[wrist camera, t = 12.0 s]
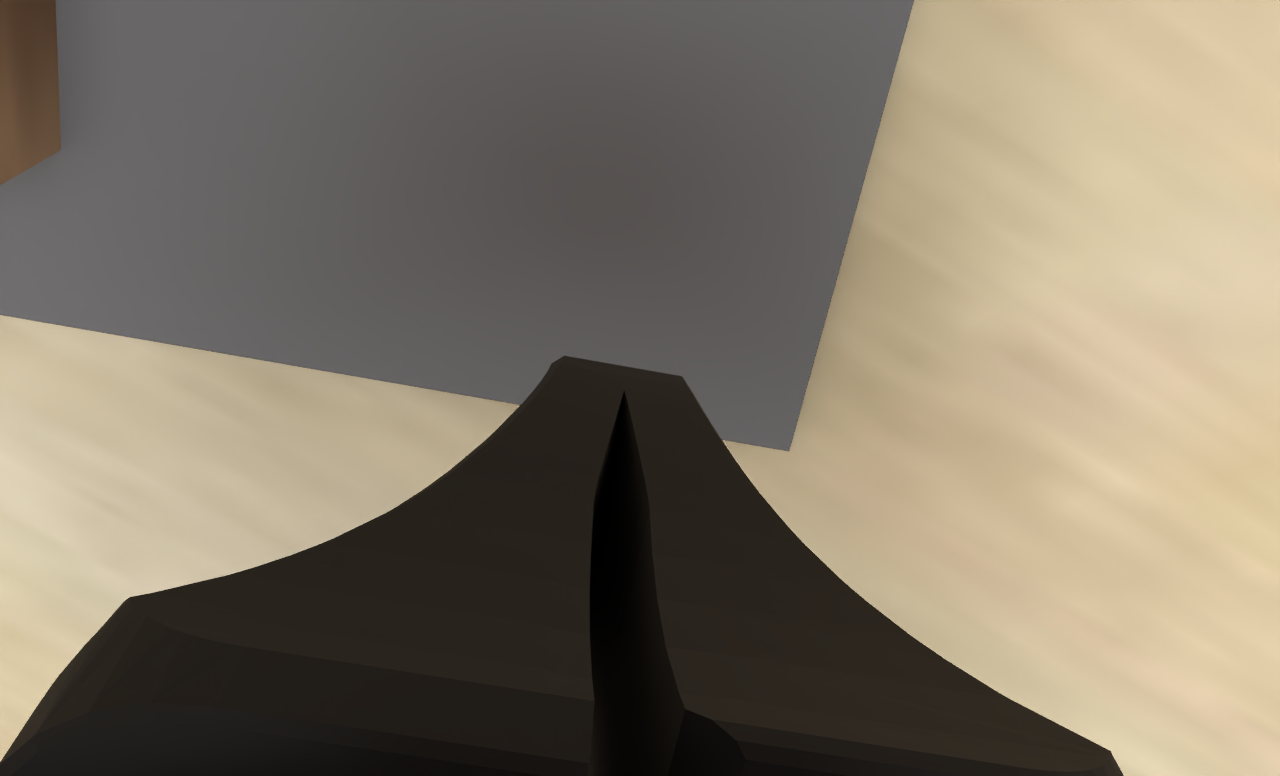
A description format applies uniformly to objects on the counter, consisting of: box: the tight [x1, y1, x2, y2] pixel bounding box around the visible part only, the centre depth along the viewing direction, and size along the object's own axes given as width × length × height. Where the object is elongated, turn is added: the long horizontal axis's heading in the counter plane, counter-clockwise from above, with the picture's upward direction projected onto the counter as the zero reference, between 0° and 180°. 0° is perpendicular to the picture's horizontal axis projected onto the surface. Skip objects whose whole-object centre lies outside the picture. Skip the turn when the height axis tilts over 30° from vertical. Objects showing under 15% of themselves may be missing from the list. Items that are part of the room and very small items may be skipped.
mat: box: [0, 0, 914, 451], centre depth 20 cm, size 13×23×1 cm, turn 80°
